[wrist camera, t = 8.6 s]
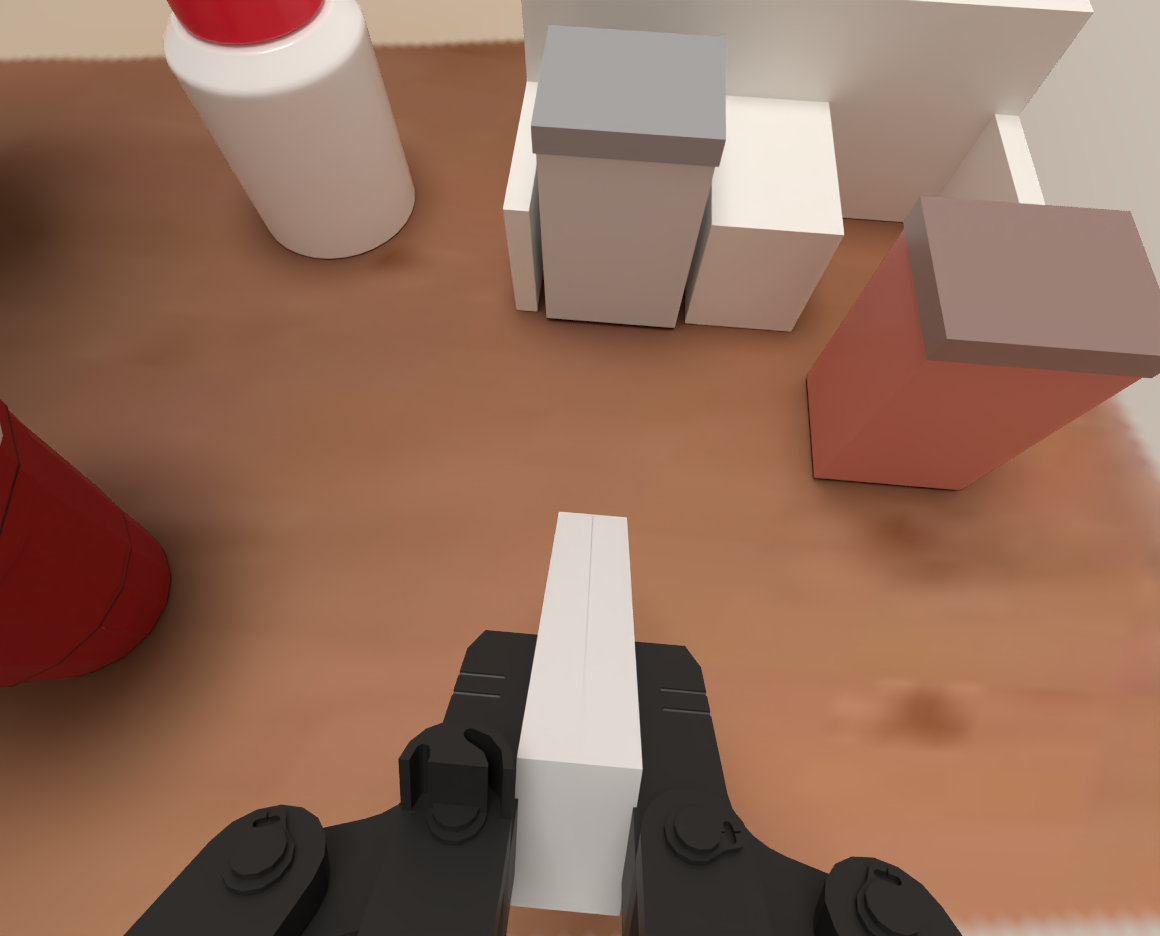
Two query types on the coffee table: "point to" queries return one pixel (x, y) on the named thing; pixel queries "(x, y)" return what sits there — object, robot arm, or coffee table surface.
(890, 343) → the capped red pillar
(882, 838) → the coffee table surface
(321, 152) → the pill bottle
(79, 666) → the plastic cup
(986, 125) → the rack
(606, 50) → the grey capped white pillar
